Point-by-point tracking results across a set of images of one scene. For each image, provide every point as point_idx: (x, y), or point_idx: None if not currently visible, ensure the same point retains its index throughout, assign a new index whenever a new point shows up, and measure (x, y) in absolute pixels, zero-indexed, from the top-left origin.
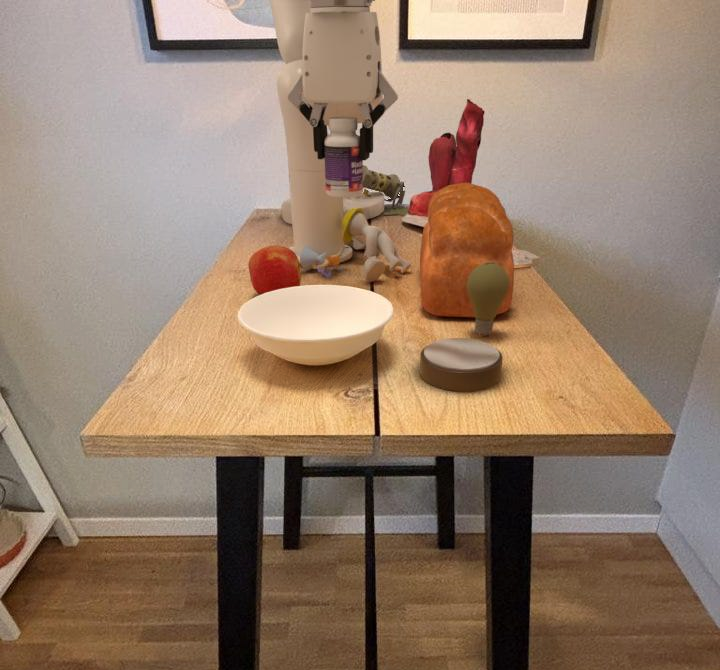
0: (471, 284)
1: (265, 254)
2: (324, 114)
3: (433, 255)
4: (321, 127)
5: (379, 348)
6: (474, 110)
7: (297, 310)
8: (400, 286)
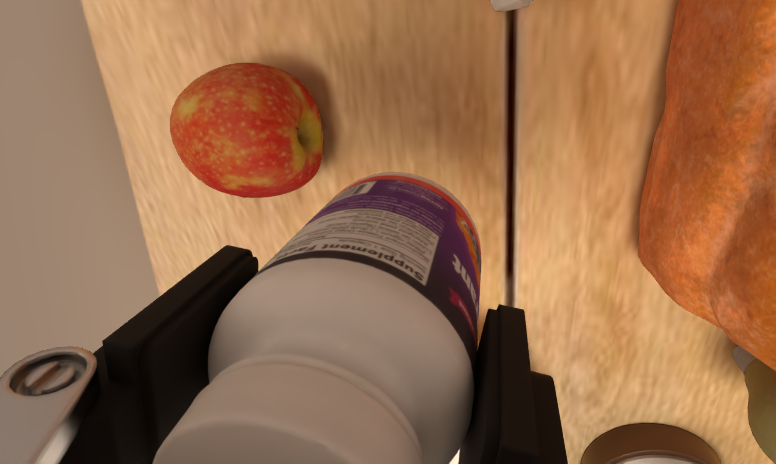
0: (762, 448)
1: (211, 177)
2: (62, 432)
3: (711, 306)
4: (147, 447)
5: None
6: None
7: None
8: (602, 5)
